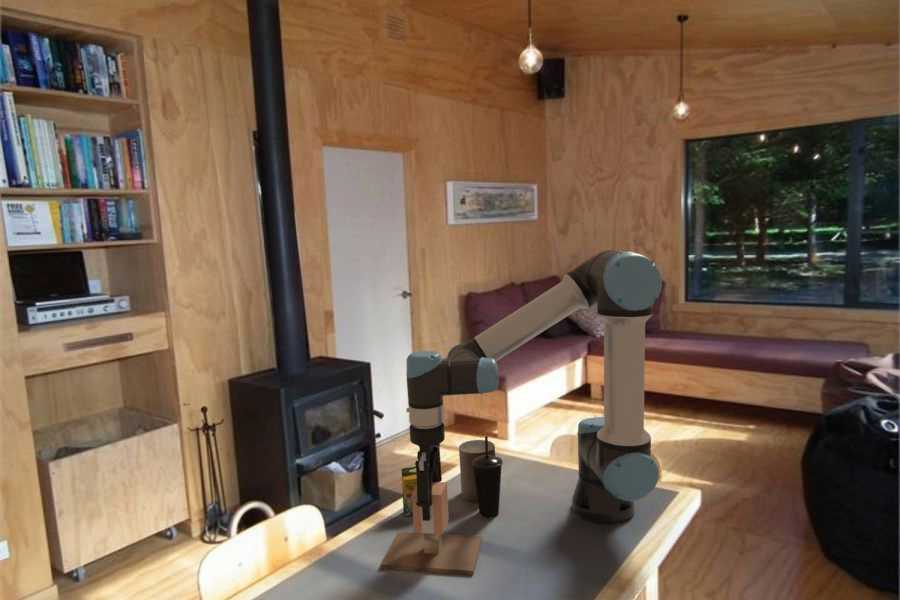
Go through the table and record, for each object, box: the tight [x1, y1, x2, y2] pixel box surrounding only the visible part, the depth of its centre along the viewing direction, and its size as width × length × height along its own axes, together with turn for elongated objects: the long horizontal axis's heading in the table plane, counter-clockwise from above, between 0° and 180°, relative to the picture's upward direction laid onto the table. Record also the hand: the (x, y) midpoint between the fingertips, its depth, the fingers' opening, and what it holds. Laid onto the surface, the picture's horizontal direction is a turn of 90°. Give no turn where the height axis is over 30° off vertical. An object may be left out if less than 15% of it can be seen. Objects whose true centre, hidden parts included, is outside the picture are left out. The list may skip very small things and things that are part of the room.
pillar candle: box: [458, 439, 496, 504], centre depth 162 cm, size 10×10×15 cm
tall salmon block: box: [412, 481, 450, 534], centre depth 133 cm, size 6×6×9 cm
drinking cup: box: [472, 435, 504, 519], centre depth 151 cm, size 8×8×20 cm
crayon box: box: [401, 466, 417, 517], centre depth 154 cm, size 7×3×12 cm, turn 105°
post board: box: [379, 531, 483, 576], centre depth 134 cm, size 20×14×8 cm
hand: (431, 524), depth 134 cm, fingers closed on tall salmon block, 6 cm apart
